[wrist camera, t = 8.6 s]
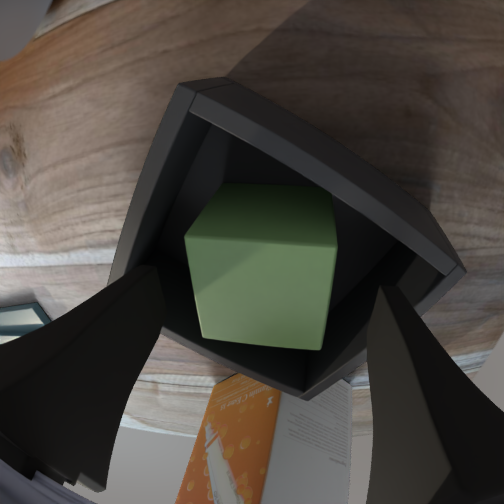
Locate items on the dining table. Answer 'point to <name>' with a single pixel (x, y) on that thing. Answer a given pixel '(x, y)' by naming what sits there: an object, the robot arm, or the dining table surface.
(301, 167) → the dark grey open tray
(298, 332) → the block
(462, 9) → the dining table surface
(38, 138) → the dining table surface
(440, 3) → the dining table surface
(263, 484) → the small box
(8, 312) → the drainboard
